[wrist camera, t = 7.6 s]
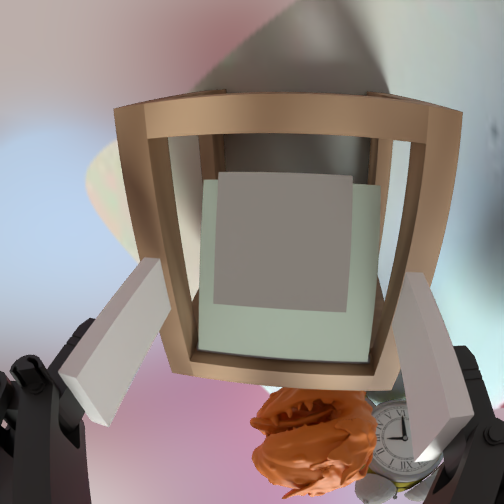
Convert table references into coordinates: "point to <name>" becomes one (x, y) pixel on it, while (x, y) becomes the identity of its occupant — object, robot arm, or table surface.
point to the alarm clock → (394, 458)
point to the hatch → (295, 321)
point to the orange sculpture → (314, 439)
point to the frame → (213, 161)
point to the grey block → (283, 240)
